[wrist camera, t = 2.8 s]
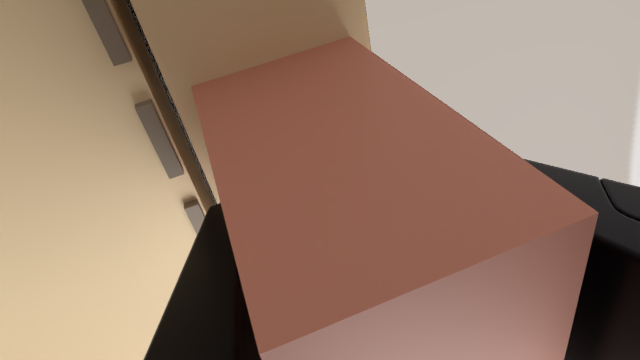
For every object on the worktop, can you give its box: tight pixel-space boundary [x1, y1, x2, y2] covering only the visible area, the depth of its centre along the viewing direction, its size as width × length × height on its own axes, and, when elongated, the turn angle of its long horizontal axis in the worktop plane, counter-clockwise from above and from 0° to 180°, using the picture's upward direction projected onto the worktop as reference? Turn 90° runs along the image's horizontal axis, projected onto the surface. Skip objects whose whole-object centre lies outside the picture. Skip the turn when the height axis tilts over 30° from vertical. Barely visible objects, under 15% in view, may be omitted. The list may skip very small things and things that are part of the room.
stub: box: [130, 0, 599, 360], centre depth 8 cm, size 10×4×8 cm, turn 12°
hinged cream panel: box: [0, 0, 215, 360], centre depth 10 cm, size 10×7×3 cm
